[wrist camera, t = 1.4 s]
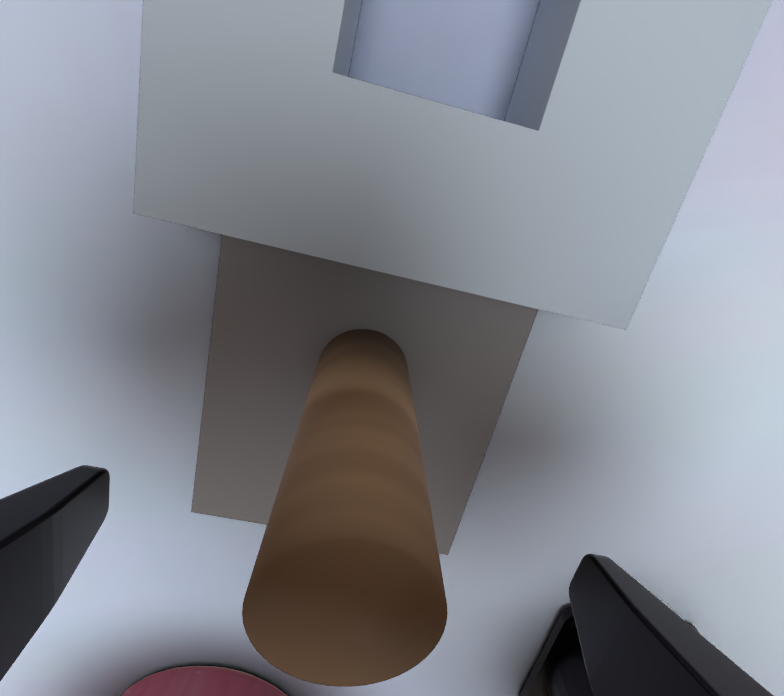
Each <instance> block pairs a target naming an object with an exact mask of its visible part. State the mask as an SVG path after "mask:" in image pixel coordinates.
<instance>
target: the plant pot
mask: <svg viewBox="0 0 784 696" xmlns="http://www.w3.org/2000/svg"><path fill="white" fill-rule="evenodd" d="M121 696H287V695H286V694H285V693H283V692H282V691H281V690H279V689H278V688H277V687H275V686H274V685H272V684H270V683H268V682H266V681H265V680H263V679H260V678H258V677H256V676H254V675H251V674H248V673H245V672H242V671H238V670H234V669H229V668H225V667H216V666H188V667H178V668H172V669H168V670H165V671H161V672H158V673H154V674H152V675H150V676H147V677H145V678H143V679H142V680H140V681H138V682H136V683H135V684H133V685H132V686H130V687H129V688H128V689H127V690H126V691H125V692H124V693H123V694H122V695H121Z"/></svg>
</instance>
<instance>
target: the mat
mask: <svg viewBox="0 0 784 696" xmlns="http://www.w3.org/2000/svg"><path fill="white" fill-rule="evenodd" d="M537 311H538V309H535V308H531V307H527V306H523V305H519V304H514V303H510V302H506V301H502V300H497V299H493V298H489V297H485V296H480V295H476V294H472V293H468V292H464V291H459V290H455V289H451V288H447V287H442V286H438V285H434V284H430V283H425V282H421V281H417V280H413V279H409V278H404V277H400V276H396V275H392V274H387V273H383V272H379V271H375V270H370V269H366V268H362V267H358V266H353V265H349V264H345V263H341V262H337V261H332V260H328V259H324V258H320V257H315V256H311V255H307V254H303V253H298V252H294V251H290V250H286V249H282V248H277V247H273V246H269V245H265V244H260V243H256V242H252V241H248V240H243V239H239V238H235V237H231V236H226V235H222V239H221V248H220V257H219V266H218V275H217V284H216V293H215V302H214V311H213V320H212V329H211V338H210V347H209V356H208V365H207V374H206V383H205V392H204V401H203V410H202V419H201V428H200V437H199V446H198V455H197V464H196V473H195V482H194V491H193V500H192V509H191V512H194V513H200V514H206V515H212V516H218V517H224V518H230V519H236V520H242V521H248V522H254V523H260V524H266V525H267V524H268V521H269V518H270V514H271V511H272V508H273V505H274V502H275V499H276V495H277V492H278V489H279V486H280V483H281V479H282V476H283V473H284V470H285V467H286V463H287V460H288V457H289V454H290V451H291V447H292V444H293V441H294V438H295V435H296V431H297V428H298V425H299V422H300V419H301V416H302V412H303V409H304V406H305V403H306V400H307V396H308V393H309V390H310V387H311V384H312V380H313V377H314V374H315V371H316V368H317V364H318V361H319V358H320V355H321V353H322V351H323V350H324V348H325V347H326V345H327V344H328V343H329V342H330V341H331V340H332V339H334V338H335V337H336V336H338V335H340V334H342V333H344V332H347V331H350V330H355V329H369V330H374V331H378V332H380V333H383V334H385V335H387V336H388V337H390V338H391V339H392V340H394V341H395V342H396V343H397V344H398V345H399V347H400V348H401V349H402V351H403V353H404V355H405V358H406V361H407V366H408V372H409V378H410V384H411V390H412V396H413V402H414V408H415V414H416V420H417V426H418V432H419V439H420V445H421V451H422V457H423V463H424V469H425V475H426V481H427V487H428V493H429V499H430V505H431V512H432V518H433V524H434V530H435V536H436V542H437V548H438V553H440V554H446V555H448V553H449V550H450V548H451V545H452V542H453V540H454V537H455V534H456V531H457V529H458V526H459V523H460V521H461V518H462V515H463V512H464V510H465V507H466V504H467V502H468V499H469V496H470V493H471V491H472V488H473V485H474V483H475V480H476V477H477V474H478V472H479V469H480V466H481V464H482V461H483V458H484V455H485V453H486V450H487V447H488V445H489V442H490V439H491V436H492V434H493V431H494V428H495V426H496V423H497V420H498V417H499V415H500V412H501V409H502V407H503V404H504V401H505V398H506V396H507V393H508V390H509V388H510V385H511V382H512V379H513V377H514V374H515V371H516V369H517V366H518V363H519V360H520V358H521V355H522V352H523V350H524V347H525V344H526V341H527V339H528V336H529V333H530V331H531V328H532V325H533V322H534V320H535V317H536V314H537Z"/></svg>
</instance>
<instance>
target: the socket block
mask: <svg viewBox="0 0 784 696" xmlns="http://www.w3.org/2000/svg"><path fill="white" fill-rule="evenodd" d="M772 1H773V0H540V3H539V6H538V9H537V13H536V16H535V19H534V23H533V26H532V30H531V33H530V36H529V40H528V43H527V46H526V50H525V53H524V56H523V60H522V63H521V67H520V70H519V73H518V77H517V80H516V83H515V87H514V90H513V94H512V97H511V100H510V104H509V107H508V110H507V114H506V117H505V120H504V121H502V120H498V119H495V118H491V117H488V116H484V115H481V114H477V113H474V112H470V111H467V110H463V109H460V108H456V107H452V106H449V105H445V104H442V103H438V102H435V101H431V100H428V99H424V98H421V97H417V96H414V95H410V94H407V93H403V92H400V91H396V90H393V89H389V88H386V87H382V86H378V85H375V84H371V83H368V82H364V81H361V80H357V79H354V78H350V77H348V75H349V70H350V64H351V59H352V53H353V48H354V42H355V37H356V32H357V26H358V21H359V15H360V10H361V4H362V0H143V11H142V33H141V56H140V79H139V101H138V124H137V146H136V169H135V191H134V214H138V215H142V216H146V217H150V218H155V219H159V220H163V221H167V222H171V223H176V224H180V225H184V226H188V227H193V228H197V229H201V230H205V231H210V232H214V233H218V234H222V235H226V236H231V237H235V238H239V239H243V240H248V241H252V242H256V243H260V244H265V245H269V246H273V247H277V248H282V249H286V250H290V251H294V252H298V253H303V254H307V255H311V256H315V257H320V258H324V259H328V260H332V261H337V262H341V263H345V264H349V265H353V266H358V267H362V268H366V269H370V270H375V271H379V272H383V273H387V274H392V275H396V276H400V277H404V278H409V279H413V280H417V281H421V282H425V283H430V284H434V285H438V286H442V287H447V288H451V289H455V290H459V291H464V292H468V293H472V294H476V295H480V296H485V297H489V298H493V299H497V300H502V301H506V302H510V303H514V304H519V305H523V306H527V307H531V308H535V309H540V310H544V311H548V312H552V313H557V314H561V315H565V316H569V317H574V318H578V319H582V320H586V321H591V322H595V323H599V324H603V325H607V326H612V327H616V328H620V329H624V330H626V329H627V327H628V325H629V322H630V320H631V318H632V316H633V313H634V311H635V309H636V307H637V304H638V302H639V300H640V298H641V295H642V293H643V291H644V289H645V286H646V284H647V282H648V280H649V277H650V275H651V273H652V271H653V268H654V266H655V264H656V262H657V260H658V257H659V255H660V253H661V251H662V248H663V246H664V244H665V242H666V239H667V237H668V235H669V233H670V230H671V228H672V226H673V224H674V221H675V219H676V217H677V215H678V212H679V210H680V208H681V206H682V203H683V201H684V199H685V197H686V194H687V192H688V190H689V188H690V185H691V183H692V181H693V179H694V176H695V174H696V172H697V170H698V167H699V165H700V163H701V161H702V158H703V156H704V154H705V152H706V149H707V147H708V145H709V143H710V140H711V138H712V136H713V134H714V131H715V129H716V127H717V125H718V122H719V120H720V118H721V116H722V113H723V111H724V109H725V107H726V104H727V102H728V100H729V98H730V96H731V93H732V91H733V89H734V87H735V84H736V82H737V80H738V78H739V75H740V73H741V71H742V69H743V66H744V64H745V62H746V60H747V57H748V55H749V53H750V51H751V48H752V46H753V44H754V42H755V39H756V37H757V35H758V33H759V30H760V28H761V26H762V24H763V21H764V19H765V17H766V15H767V12H768V10H769V8H770V6H771V3H772Z"/></svg>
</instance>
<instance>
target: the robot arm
mask: <svg viewBox="0 0 784 696" xmlns="http://www.w3.org/2000/svg"><path fill="white" fill-rule="evenodd" d="M109 481H110V476H109V472H108V471H107V470H106V469H104V468H99V467H93V466H88V465H83V466H79V467H76V468H74V469H72V470H69V471H67V472H64V473H62V474H60V475H57V476H55V477H52V478H50V479H48V480H45V481H43V482H41V483H38V484H36V485H33V486H31V487H29V488H26V489H24V490H21V491H19V492H17V493H14V494H12V495H9V496H7V497H5V498H2V499H0V681H1V680H2V678H3V677H4V675H5V674H6V673H7V671H8V670H9V668H10V667H11V666H12V664H13V663H14V662H15V660H16V659H17V657H18V656H19V655H20V653H21V652H22V650H23V649H24V648H25V646H26V645H27V643H28V642H29V641H30V639H31V638H32V636H33V635H34V634H35V632H36V631H37V630H38V628H39V627H40V625H41V624H42V623H43V621H44V620H45V618H46V617H47V615H48V614H49V612H50V611H51V610H52V608H53V607H54V605H55V603H56V602H57V600H58V599H59V597H60V595H61V594H62V592H63V590H64V589H65V587H66V585H67V583H68V582H69V580H70V578H71V577H72V575H73V573H74V571H75V570H76V568H77V566H78V565H79V563H80V561H81V559H82V558H83V556H84V554H85V552H86V551H87V549H88V547H89V546H90V544H91V542H92V540H93V539H94V537H95V535H96V534H97V532H98V530H99V528H100V527H101V525H102V523H103V521H104V520H105V517H106V515H107V512H108V507H109ZM569 597H570V602H571V606H572V607H570V608H567V609H565V610H564V611H563V612H562V613H561V614H560V616H559V618H558V620H557V622H556V624H555V626H554V628H553V630H552V632H551V634H550V636H549V638H548V640H547V642H546V644H545V646H544V648H543V650H542V652H541V654H540V655H539V657H538V659H537V661H536V663H535V665H534V667H533V669H532V671H531V673H530V675H529V677H528V679H527V681H526V683H525V685H524V687H523V689H522V691H521V693H520V695H519V696H773V695H772V694H771V693H770V692H768V691H767V690H766V689H765V688H764V687H762V686H761V685H760V684H759V683H758V682H756V681H755V680H754V679H753V678H752V677H750V676H749V675H748V674H747V673H746V672H745V671H743V670H742V669H741V668H740V667H739V666H737V665H736V664H735V663H734V662H733V661H731V660H730V659H729V658H728V657H727V656H725V655H724V654H723V653H722V652H721V651H719V650H718V649H717V648H716V647H715V646H714V645H712V644H711V643H710V642H709V641H708V640H706V639H705V638H704V637H703V636H702V635H701V634H700V633H699V632H698V630H697V629H696V628H695V627H694V626H691V625H689V624H687V623H686V622H685V621H684V620H683V619H681V618H680V617H679V616H678V615H677V614H675V613H674V612H673V611H672V610H671V609H669V608H668V607H667V606H666V605H665V604H664V603H662V602H661V601H660V600H659V599H658V598H656V597H655V596H654V595H653V594H652V593H650V592H649V591H648V590H647V589H646V588H644V587H643V586H642V585H641V584H640V583H639V582H637V581H636V580H635V579H634V578H633V577H631V576H630V575H629V574H628V573H627V572H625V571H624V570H623V569H622V568H621V567H619V566H618V565H617V564H616V563H615V562H613V561H612V560H611V559H610V558H608V557H605V556H600V555H595V554H587V555H585V556H584V557H583V559H582V561H581V563H580V565H579V567H578V569H577V571H576V573H575V575H574V577H573V579H572V581H571V583H570V587H569Z"/></svg>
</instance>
